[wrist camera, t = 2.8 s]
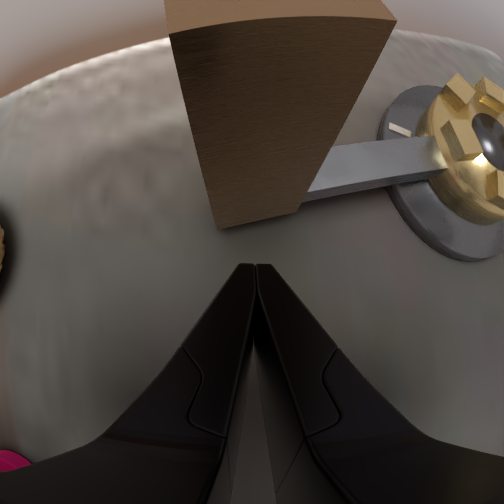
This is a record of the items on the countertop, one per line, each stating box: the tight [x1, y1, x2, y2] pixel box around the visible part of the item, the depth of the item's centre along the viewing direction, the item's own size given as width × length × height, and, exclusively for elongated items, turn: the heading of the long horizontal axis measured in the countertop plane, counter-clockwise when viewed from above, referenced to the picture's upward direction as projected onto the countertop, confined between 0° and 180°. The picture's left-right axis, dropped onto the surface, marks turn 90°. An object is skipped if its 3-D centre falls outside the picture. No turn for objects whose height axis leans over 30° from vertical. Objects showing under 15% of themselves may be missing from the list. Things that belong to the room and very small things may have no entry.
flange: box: [377, 85, 504, 262], centre depth 18 cm, size 13×13×2 cm
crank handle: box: [164, 0, 504, 230], centre depth 11 cm, size 22×9×12 cm, turn 104°
